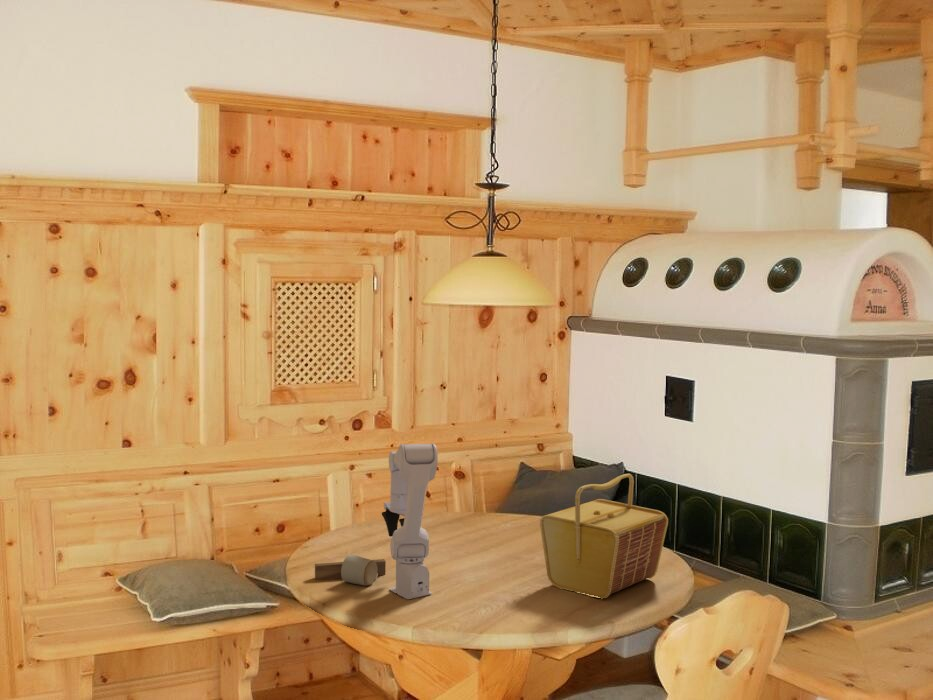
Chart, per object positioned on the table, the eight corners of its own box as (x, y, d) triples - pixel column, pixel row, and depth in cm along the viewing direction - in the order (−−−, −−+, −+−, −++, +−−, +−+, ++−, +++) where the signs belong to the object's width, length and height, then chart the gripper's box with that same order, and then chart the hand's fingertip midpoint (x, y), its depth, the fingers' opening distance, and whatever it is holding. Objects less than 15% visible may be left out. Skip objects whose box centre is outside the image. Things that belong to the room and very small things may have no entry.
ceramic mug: (365, 589, 275) (366, 562, 275) (340, 584, 279) (340, 557, 278) (384, 579, 285) (385, 552, 284) (359, 575, 288) (360, 548, 288)
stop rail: (385, 574, 288) (385, 561, 288) (315, 579, 283) (315, 565, 282) (383, 572, 290) (384, 559, 290) (314, 577, 285) (314, 563, 284)
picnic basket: (592, 562, 304) (596, 465, 302) (668, 581, 288) (672, 479, 285) (535, 585, 282) (538, 480, 280) (613, 607, 266) (617, 496, 263)
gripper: (426, 496, 283) (425, 543, 285) (398, 485, 295) (397, 531, 296) (405, 499, 279) (404, 546, 280) (377, 488, 291) (377, 534, 292)
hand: (399, 539), depth 288 cm, fingers open, 7 cm apart
